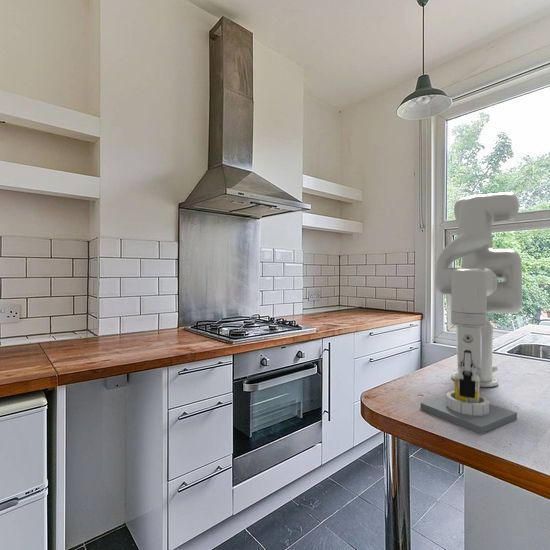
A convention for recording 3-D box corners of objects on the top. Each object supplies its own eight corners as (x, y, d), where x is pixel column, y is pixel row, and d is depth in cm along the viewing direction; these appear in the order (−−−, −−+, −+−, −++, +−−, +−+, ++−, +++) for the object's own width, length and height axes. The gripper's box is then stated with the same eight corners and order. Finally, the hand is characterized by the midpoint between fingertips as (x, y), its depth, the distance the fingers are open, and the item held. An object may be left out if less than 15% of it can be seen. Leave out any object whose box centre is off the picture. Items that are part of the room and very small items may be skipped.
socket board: (455, 397, 92) (456, 383, 92) (516, 418, 79) (517, 402, 79) (420, 408, 85) (420, 392, 85) (481, 434, 72) (481, 415, 72)
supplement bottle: (473, 411, 78) (474, 370, 78) (450, 403, 83) (450, 365, 82) (483, 405, 82) (483, 366, 81) (460, 398, 86) (460, 361, 86)
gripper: (488, 325, 72) (486, 408, 73) (485, 315, 87) (484, 384, 87) (449, 322, 76) (448, 401, 76) (452, 313, 91) (451, 379, 91)
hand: (467, 391), depth 82 cm, fingers open, 5 cm apart
